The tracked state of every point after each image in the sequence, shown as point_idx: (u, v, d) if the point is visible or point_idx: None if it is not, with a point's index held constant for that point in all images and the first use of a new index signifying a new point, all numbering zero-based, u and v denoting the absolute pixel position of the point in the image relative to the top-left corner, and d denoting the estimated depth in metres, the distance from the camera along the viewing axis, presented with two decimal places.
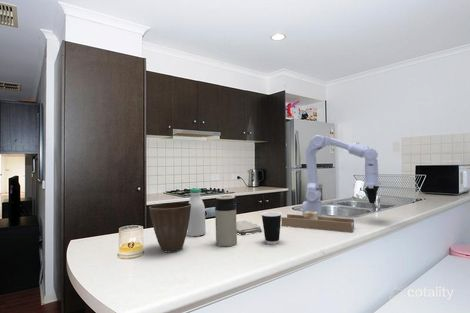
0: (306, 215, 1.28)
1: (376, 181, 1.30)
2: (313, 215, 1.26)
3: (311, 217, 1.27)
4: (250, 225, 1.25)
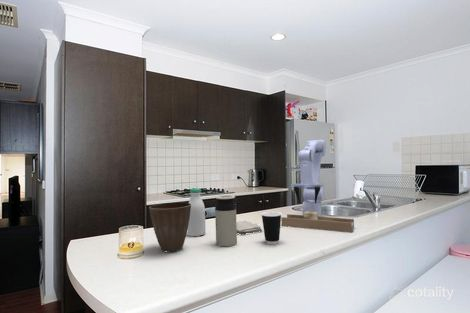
0: (306, 215, 1.28)
1: (302, 182, 1.32)
2: (313, 215, 1.26)
3: (311, 217, 1.27)
4: (250, 225, 1.25)
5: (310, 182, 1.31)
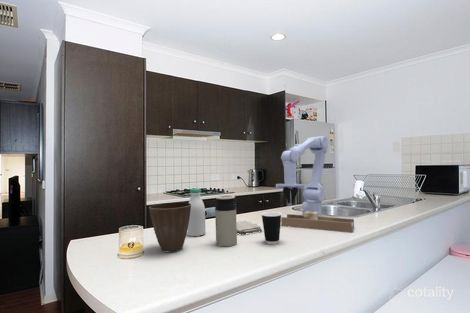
0: (306, 215, 1.28)
1: (285, 182, 1.33)
2: (313, 215, 1.26)
3: (311, 217, 1.27)
4: (250, 225, 1.25)
5: (292, 183, 1.31)
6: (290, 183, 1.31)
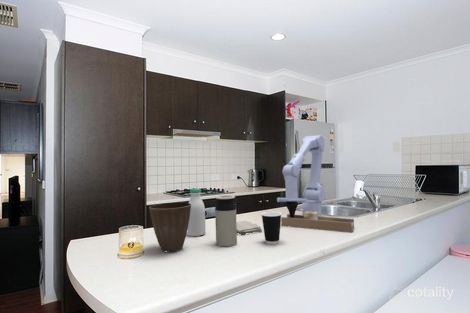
0: (306, 215, 1.28)
1: (286, 197, 1.33)
2: (313, 215, 1.26)
3: (311, 217, 1.27)
4: (250, 225, 1.25)
5: (293, 197, 1.31)
6: (291, 198, 1.31)
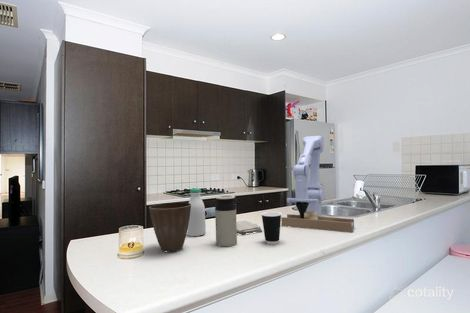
0: (306, 215, 1.28)
1: (296, 197, 1.31)
2: (313, 215, 1.26)
3: (311, 217, 1.27)
4: (250, 225, 1.25)
5: (304, 197, 1.29)
6: (302, 198, 1.29)
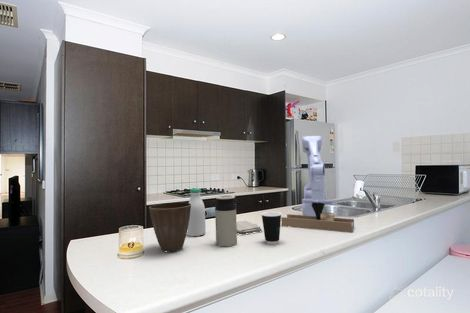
0: (322, 216, 1.24)
1: (312, 198, 1.27)
2: (330, 216, 1.22)
3: (328, 218, 1.23)
4: (250, 225, 1.25)
5: (320, 198, 1.25)
6: (318, 199, 1.25)
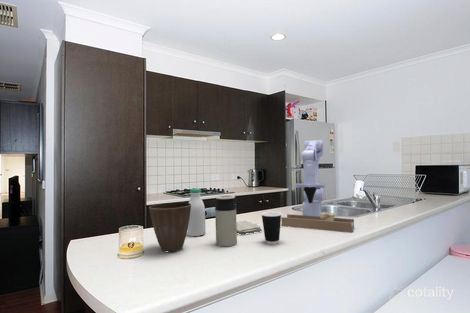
0: (322, 216, 1.24)
1: (304, 182, 1.32)
2: (330, 216, 1.22)
3: (328, 218, 1.23)
4: (250, 225, 1.25)
5: (312, 182, 1.30)
6: (310, 182, 1.30)
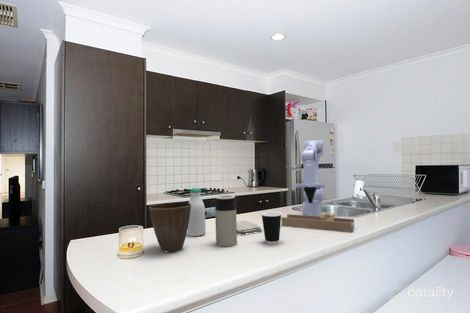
0: (322, 216, 1.24)
1: (304, 182, 1.32)
2: (330, 216, 1.22)
3: (328, 218, 1.23)
4: (250, 225, 1.25)
5: (312, 182, 1.30)
6: (310, 182, 1.30)
